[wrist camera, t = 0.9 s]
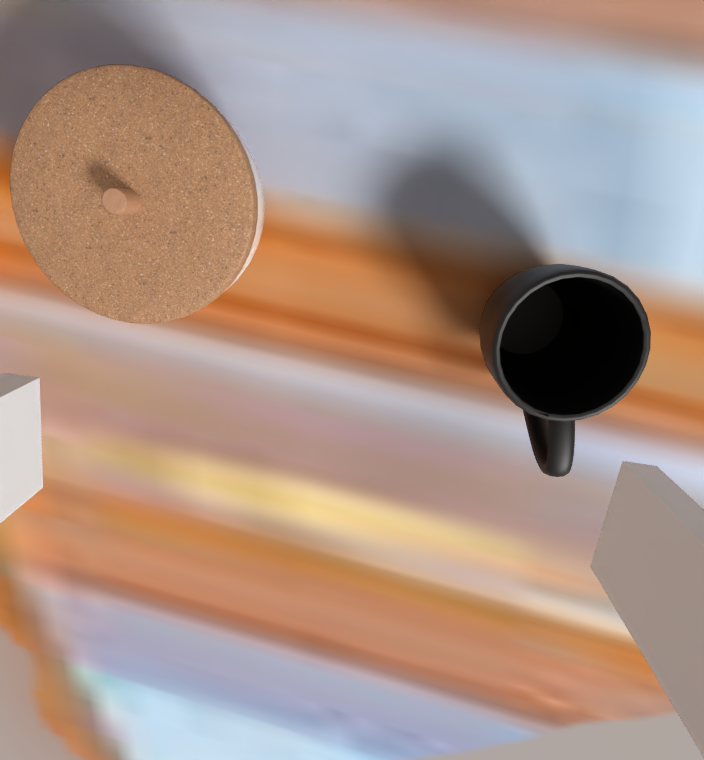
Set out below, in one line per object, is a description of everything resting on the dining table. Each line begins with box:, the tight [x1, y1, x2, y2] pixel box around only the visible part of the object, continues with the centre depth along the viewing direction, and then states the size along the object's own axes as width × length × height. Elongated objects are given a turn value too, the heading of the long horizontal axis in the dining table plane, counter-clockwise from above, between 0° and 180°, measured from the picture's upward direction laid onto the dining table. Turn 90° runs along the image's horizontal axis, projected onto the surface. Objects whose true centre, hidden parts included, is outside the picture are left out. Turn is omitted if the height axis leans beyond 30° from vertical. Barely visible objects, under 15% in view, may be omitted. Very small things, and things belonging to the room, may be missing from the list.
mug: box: [480, 264, 651, 477], centre depth 34 cm, size 8×12×10 cm
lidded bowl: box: [10, 64, 264, 324], centre depth 32 cm, size 13×13×11 cm
